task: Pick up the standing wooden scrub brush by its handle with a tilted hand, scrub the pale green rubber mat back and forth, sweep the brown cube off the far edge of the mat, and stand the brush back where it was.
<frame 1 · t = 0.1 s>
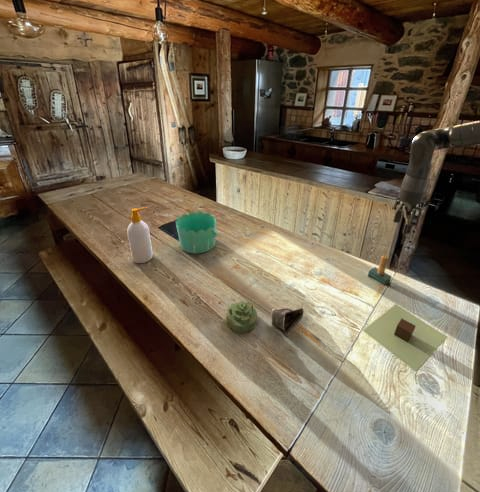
hand: (400, 227, 102), 21 cm above the table, tool pointing down, fingers open, 8 cm apart
soap bottle: (143, 257, 118), on the table
dark flower pot: (285, 320, 88), on the table
basket: (197, 244, 128), on the table
mat: (403, 335, 83), on the table
decorative artifact: (241, 319, 88), on the table
brown cube: (402, 334, 82), point 1 cm above the table, touching mat
brush: (378, 279, 106), on the table
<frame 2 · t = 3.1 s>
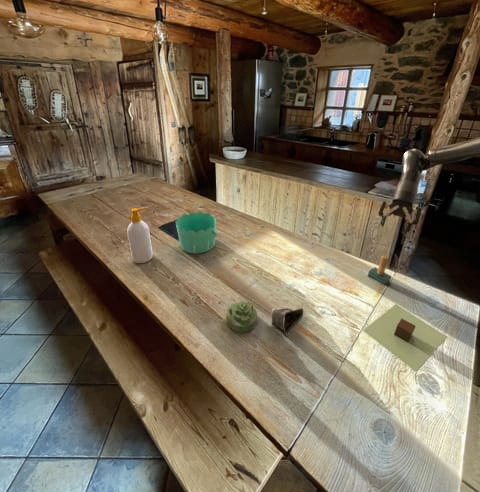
hand: (394, 229, 107), 18 cm above the table, tool tilted 45°, fingers open, 8 cm apart
nothing on the table moved.
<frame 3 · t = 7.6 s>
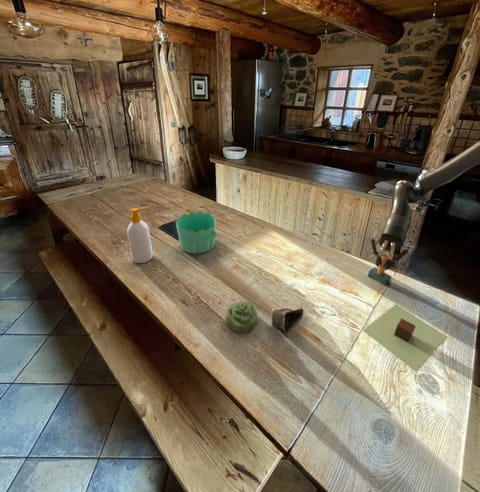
hand: (381, 267, 102), 7 cm above the table, tool tilted 45°, fingers closed on brush, 2 cm apart
brush: (378, 279, 106), on the table, touching gripper
everything else where it was.
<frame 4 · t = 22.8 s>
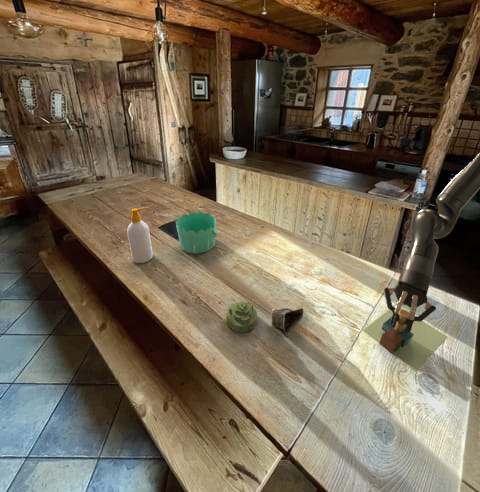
hand: (399, 329, 75), 8 cm above the table, tool tilted 45°, fingers closed on brush, 2 cm apart
brown cube: (389, 345, 79), point 1 cm above the table, touching mat
brush: (395, 334, 81), point 2 cm above the table, tilted 13°, touching gripper
everything else where it was.
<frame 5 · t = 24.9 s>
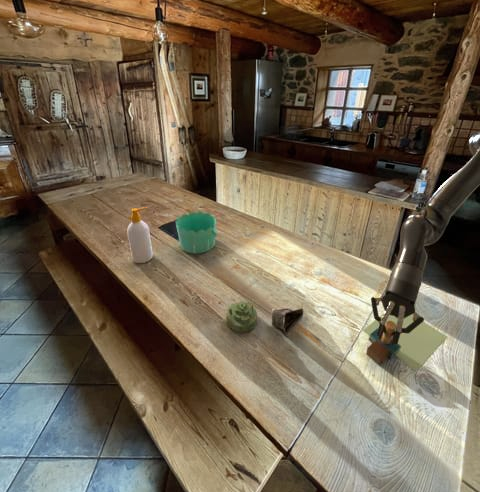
hand: (385, 341, 72), 8 cm above the table, tool tilted 45°, fingers closed on brush, 2 cm apart
brown cube: (376, 357, 76), on the table, tilted 12°, touching brush
brush: (383, 345, 78), point 2 cm above the table, tilted 13°, touching brown cube, gripper
everything else where it was.
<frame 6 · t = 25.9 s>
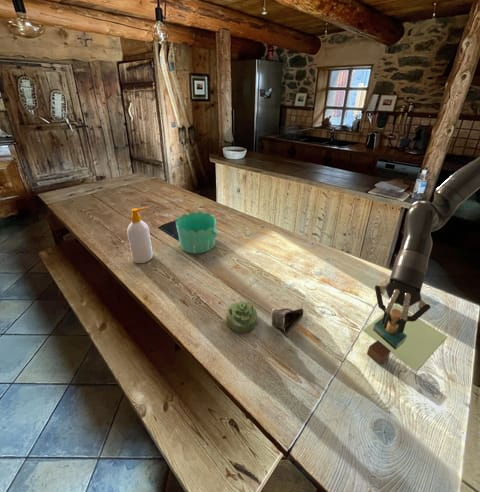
hand: (390, 330, 70), 12 cm above the table, tool tilted 45°, fingers closed on brush, 2 cm apart
brown cube: (376, 358, 76), on the table
brush: (388, 335, 76), point 6 cm above the table, tilted 13°, touching gripper
everything else where it was.
when the fingers open (7 cm above the table, at t = 35.3 s): brush stays where it is, on the table.
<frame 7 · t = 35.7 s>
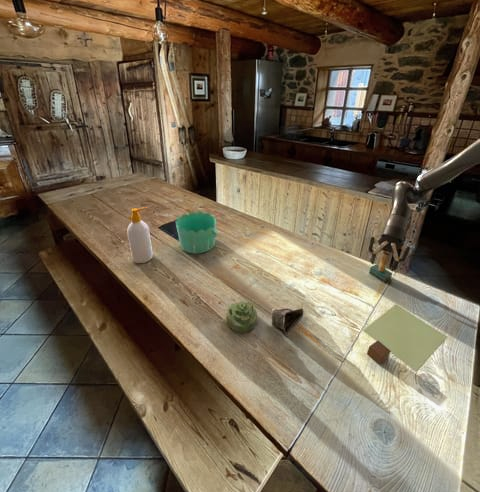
hand: (382, 267, 102), 7 cm above the table, tool tilted 45°, fingers open, 6 cm apart
brush: (379, 276, 108), on the table
everything else where it was.
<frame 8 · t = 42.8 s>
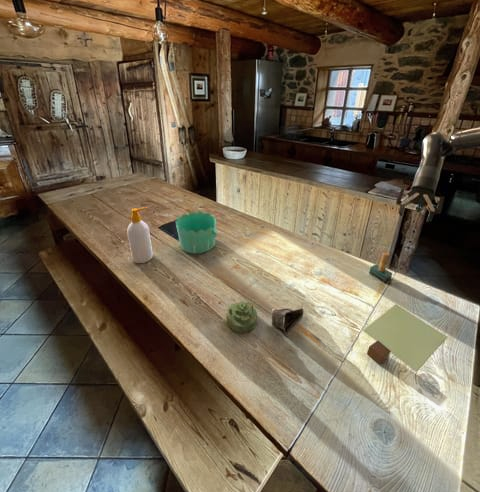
hand: (413, 218, 97), 27 cm above the table, tool tilted 45°, fingers open, 8 cm apart
nothing on the table moved.
at the end: brown cube inside the target area on the table beside the mat (6.1 cm from its centre), on the table; brush tilted 0°; brush inside the target area (2.6 cm from its centre), on the table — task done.
